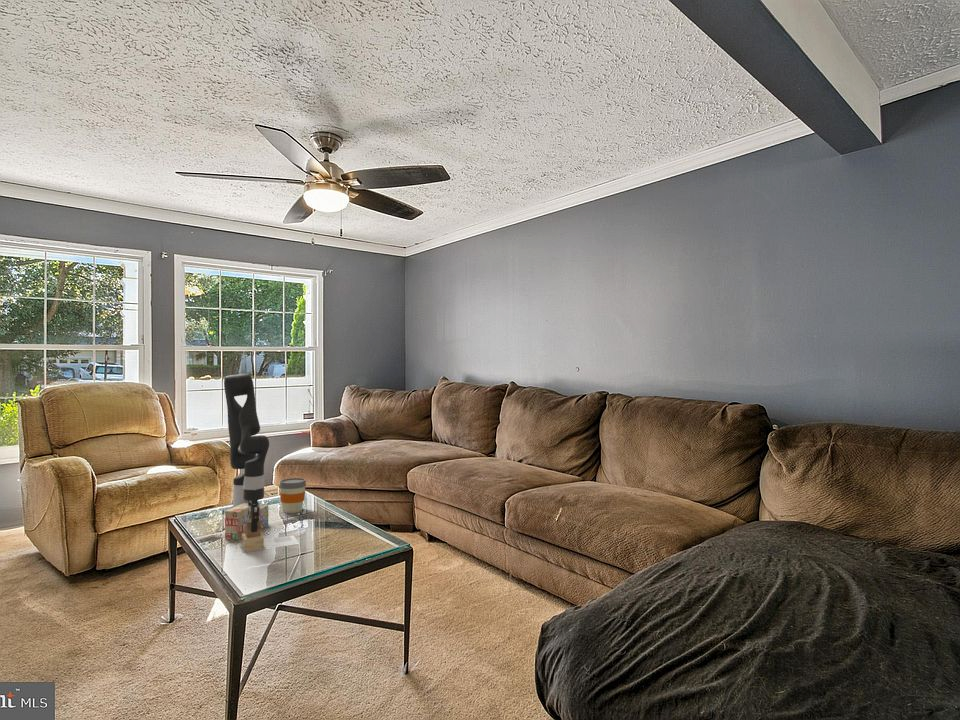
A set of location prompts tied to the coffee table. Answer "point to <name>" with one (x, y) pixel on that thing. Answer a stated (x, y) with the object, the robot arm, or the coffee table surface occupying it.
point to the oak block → (252, 543)
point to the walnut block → (248, 528)
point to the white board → (274, 543)
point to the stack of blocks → (242, 520)
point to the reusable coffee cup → (292, 494)
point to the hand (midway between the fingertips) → (253, 529)
